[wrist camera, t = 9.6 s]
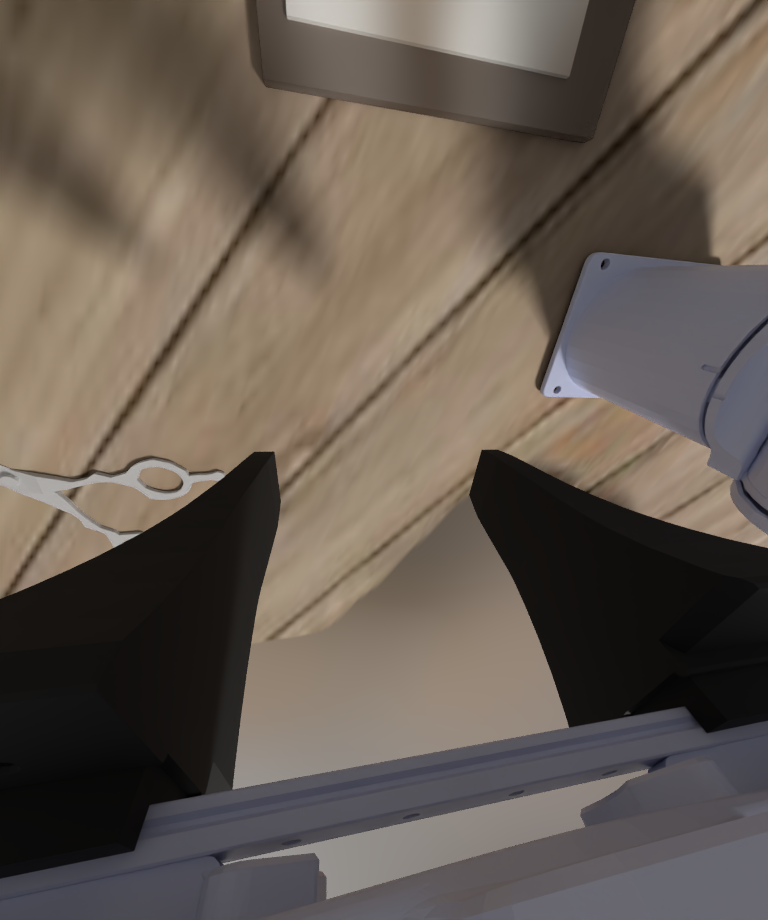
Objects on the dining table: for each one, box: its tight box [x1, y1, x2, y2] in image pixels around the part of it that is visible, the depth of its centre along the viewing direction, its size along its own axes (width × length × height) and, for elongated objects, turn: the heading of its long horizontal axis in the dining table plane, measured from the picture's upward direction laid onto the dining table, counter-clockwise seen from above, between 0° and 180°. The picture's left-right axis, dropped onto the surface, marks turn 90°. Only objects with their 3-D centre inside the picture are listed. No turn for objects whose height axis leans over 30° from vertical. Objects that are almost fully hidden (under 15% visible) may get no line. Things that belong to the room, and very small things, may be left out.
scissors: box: [0, 458, 225, 547], centre depth 19 cm, size 11×1×20 cm
